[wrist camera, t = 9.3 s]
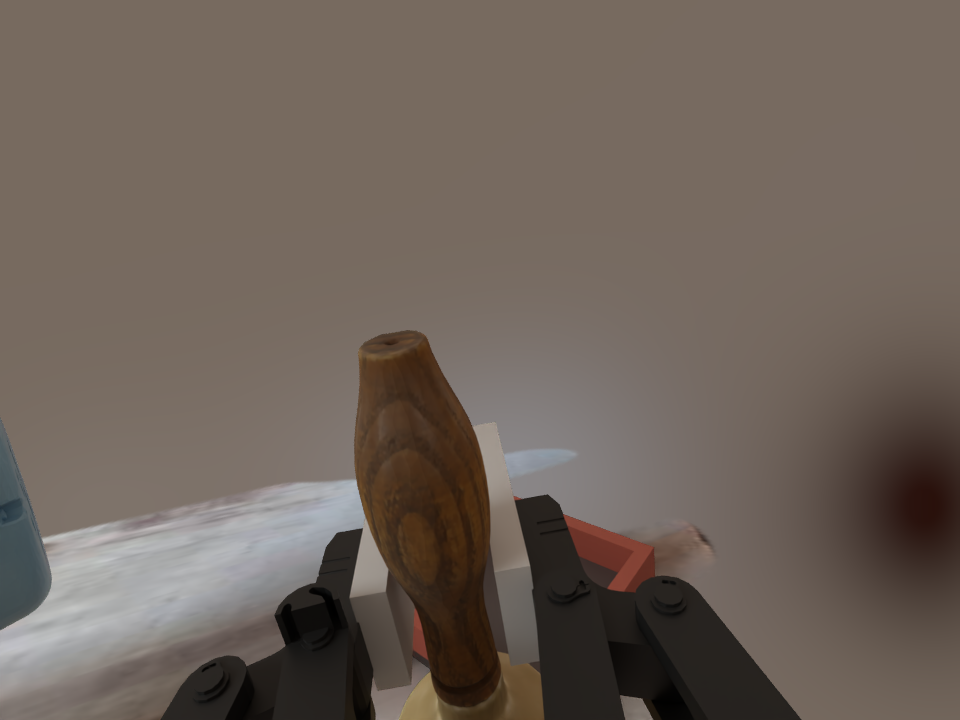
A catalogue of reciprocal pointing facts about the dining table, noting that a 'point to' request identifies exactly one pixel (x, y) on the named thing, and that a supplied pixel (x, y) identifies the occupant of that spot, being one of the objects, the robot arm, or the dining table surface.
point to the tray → (602, 560)
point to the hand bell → (434, 530)
